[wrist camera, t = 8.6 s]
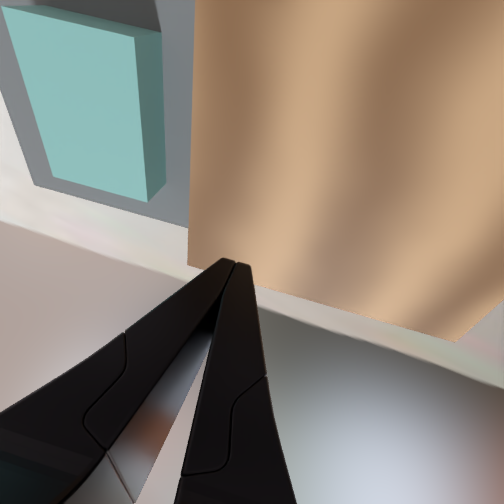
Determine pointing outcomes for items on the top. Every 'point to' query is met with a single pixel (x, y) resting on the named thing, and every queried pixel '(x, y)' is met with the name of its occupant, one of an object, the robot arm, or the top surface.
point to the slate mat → (175, 101)
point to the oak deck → (354, 153)
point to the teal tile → (94, 97)
